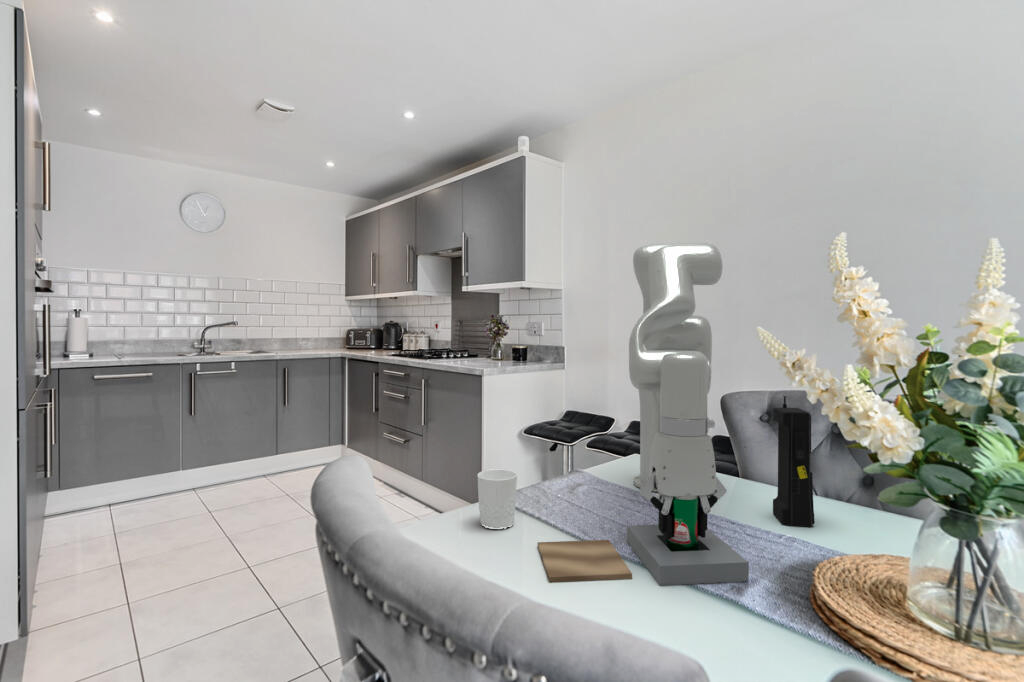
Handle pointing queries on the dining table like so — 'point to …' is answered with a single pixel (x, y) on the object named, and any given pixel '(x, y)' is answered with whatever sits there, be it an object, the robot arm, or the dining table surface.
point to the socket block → (687, 558)
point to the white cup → (497, 497)
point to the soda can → (684, 523)
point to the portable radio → (794, 468)
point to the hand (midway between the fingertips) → (682, 533)
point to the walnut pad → (582, 561)
